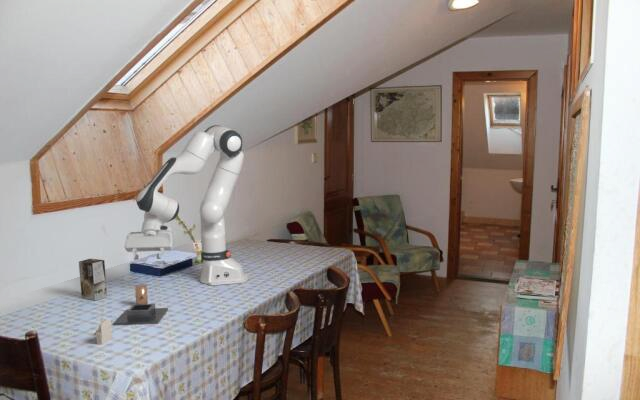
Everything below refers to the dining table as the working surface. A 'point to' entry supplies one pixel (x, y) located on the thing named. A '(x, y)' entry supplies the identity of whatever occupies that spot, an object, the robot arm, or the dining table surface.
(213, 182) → the robot arm
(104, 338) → the architectural model
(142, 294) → the copper pipe stub
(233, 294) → the dining table surface
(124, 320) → the duct collar
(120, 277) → the dining table surface
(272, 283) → the dining table surface
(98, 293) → the coffee box
